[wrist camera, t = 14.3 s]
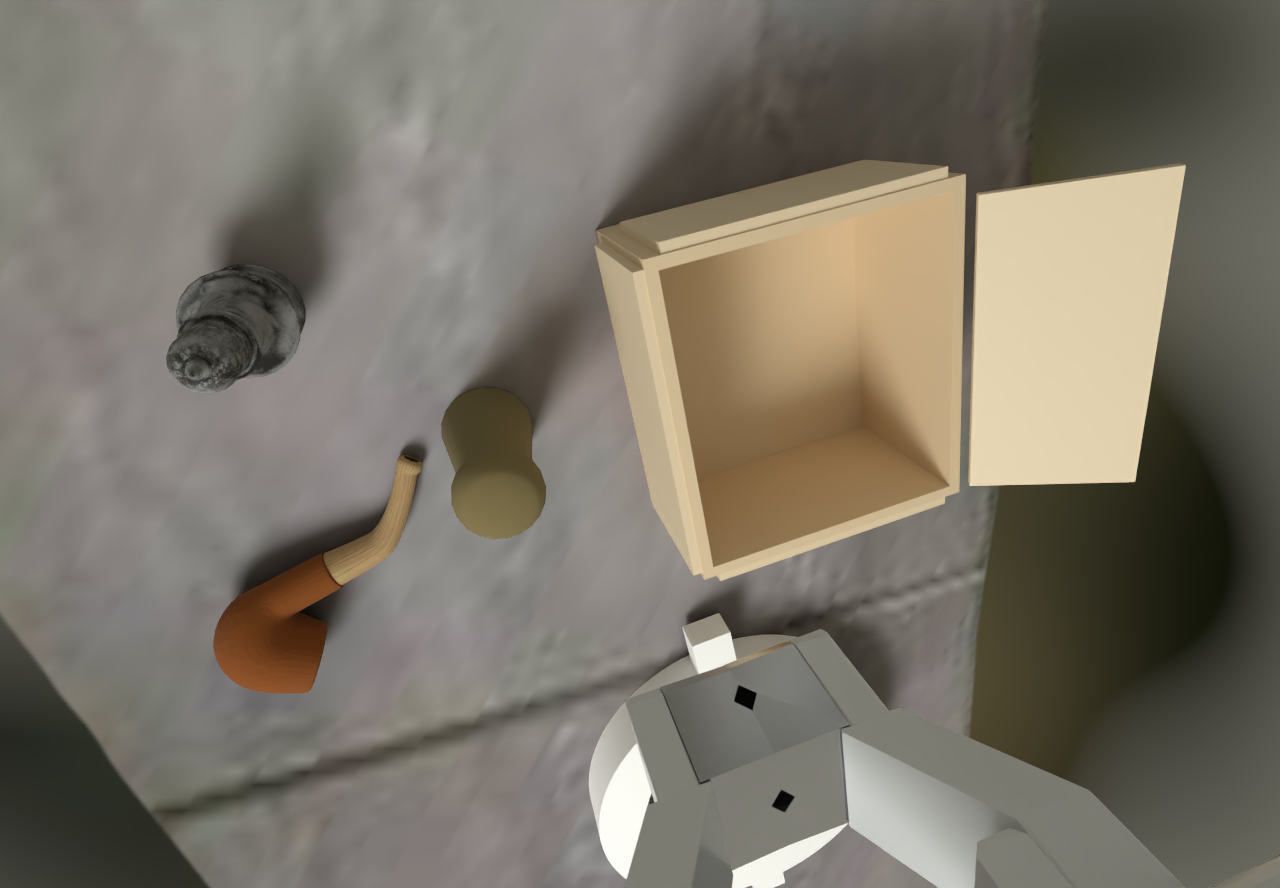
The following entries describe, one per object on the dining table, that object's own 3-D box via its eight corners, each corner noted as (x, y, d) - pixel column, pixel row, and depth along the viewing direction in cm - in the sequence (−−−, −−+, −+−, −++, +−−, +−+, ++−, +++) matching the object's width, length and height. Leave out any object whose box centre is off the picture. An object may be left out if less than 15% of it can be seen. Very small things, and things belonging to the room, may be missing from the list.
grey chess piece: (222, 238, 38) (141, 280, 28) (328, 293, 41) (291, 351, 30) (178, 328, 39) (86, 402, 29) (284, 376, 42) (234, 460, 31)
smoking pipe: (207, 631, 47) (180, 691, 42) (340, 417, 44) (328, 455, 39) (309, 664, 51) (296, 724, 46) (441, 466, 47) (442, 508, 42)
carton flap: (969, 485, 44) (1135, 481, 41) (978, 195, 36) (1185, 165, 33) (968, 480, 45) (1131, 476, 42) (976, 192, 36) (1180, 163, 34)
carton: (648, 505, 53) (696, 590, 43) (584, 222, 43) (628, 250, 33) (867, 434, 55) (958, 499, 46) (853, 154, 46) (966, 161, 36)
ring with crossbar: (692, 594, 58) (712, 631, 54) (910, 675, 70) (940, 710, 66) (534, 829, 64) (541, 878, 60) (758, 866, 76) (777, 909, 72)
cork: (550, 428, 48) (580, 504, 38) (487, 485, 48) (500, 575, 39) (487, 368, 45) (502, 435, 35) (421, 430, 45) (418, 512, 36)
